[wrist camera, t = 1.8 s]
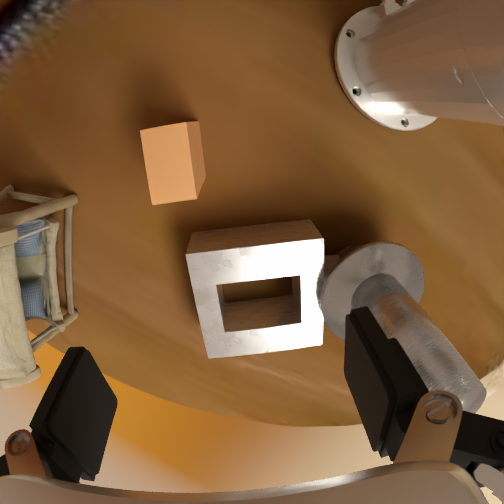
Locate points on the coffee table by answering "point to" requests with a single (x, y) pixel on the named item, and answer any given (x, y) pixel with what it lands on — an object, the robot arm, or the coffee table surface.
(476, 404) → the bracket head
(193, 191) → the orange rectangular block
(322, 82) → the coffee table surface
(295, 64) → the coffee table surface
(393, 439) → the robot arm
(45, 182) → the coffee table surface
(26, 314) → the swing bench
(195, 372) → the coffee table surface
